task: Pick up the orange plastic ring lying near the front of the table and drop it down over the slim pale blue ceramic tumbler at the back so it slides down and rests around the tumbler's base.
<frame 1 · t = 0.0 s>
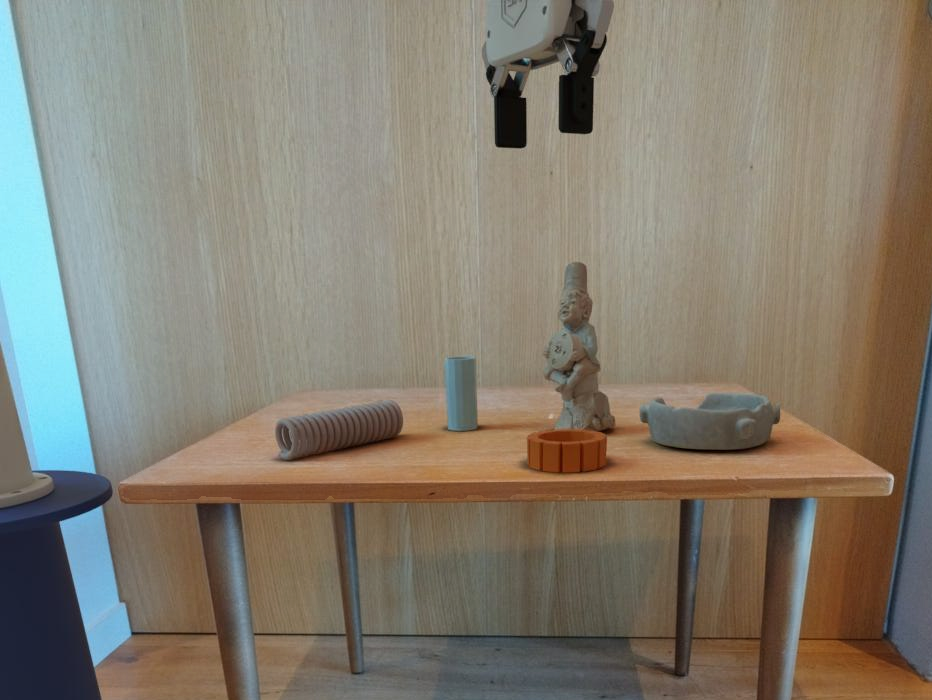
hand: (541, 140, 75), 30 cm above the table, tool pointing down, fingers open, 9 cm apart
figurine: (580, 432, 109), on the table
tumbler: (462, 428, 114), on the table
ring: (566, 463, 92), on the table
dish: (710, 444, 100), on the table
coil: (343, 449, 104), on the table
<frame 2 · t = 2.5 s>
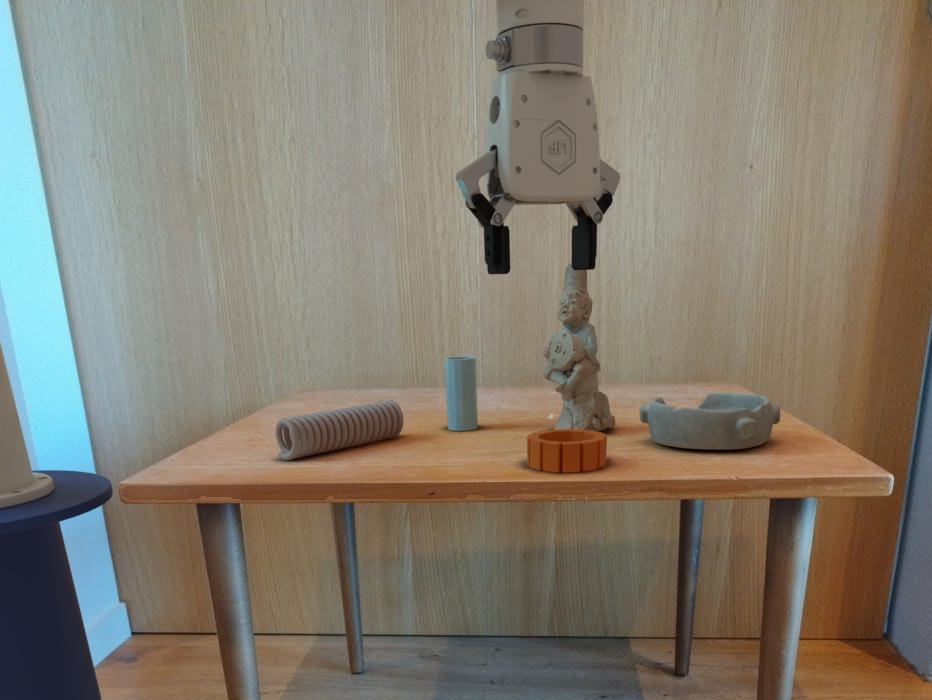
hand: (542, 271, 82), 19 cm above the table, tool pointing down, fingers open, 9 cm apart
nothing on the table moved.
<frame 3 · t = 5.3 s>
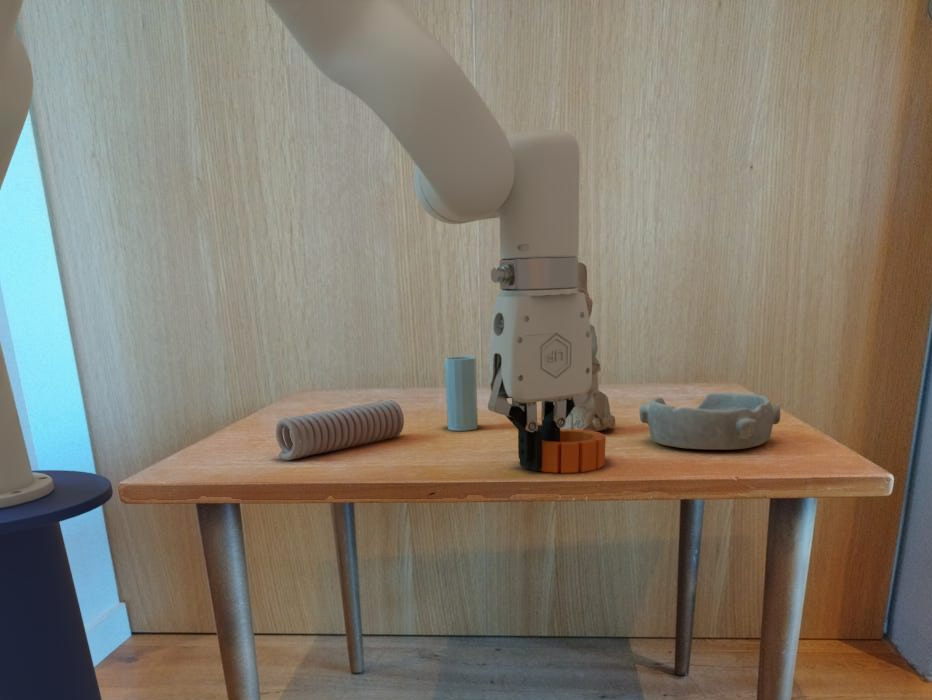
hand: (539, 465, 90), 0 cm above the table, tool pointing down, fingers closed on ring
ring: (564, 464, 92), on the table, touching gripper
everything else where it was.
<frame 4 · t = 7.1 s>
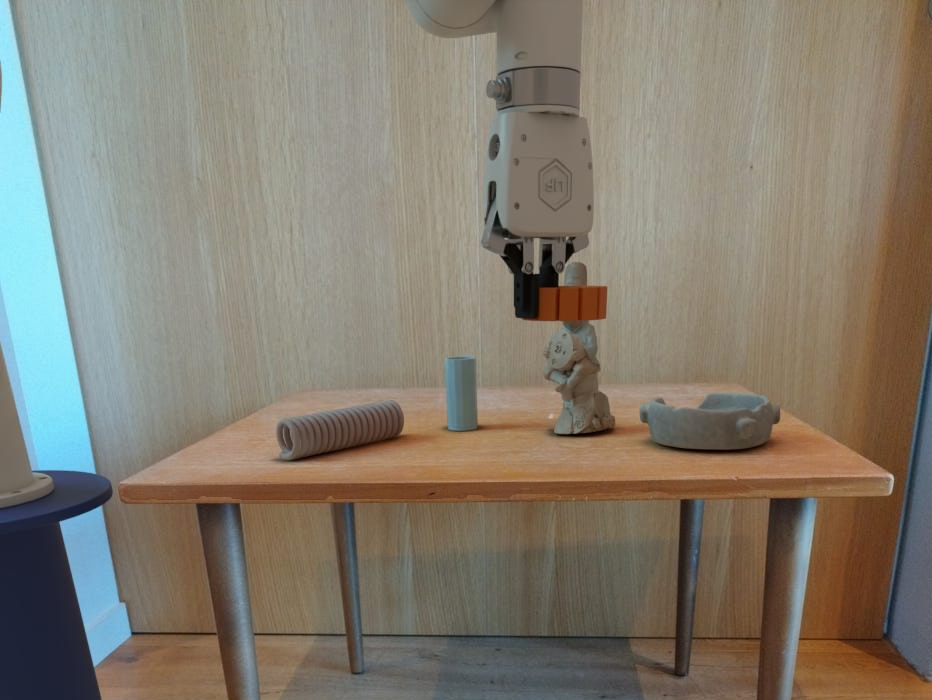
hand: (535, 316, 84), 15 cm above the table, tool pointing down, fingers closed on ring
ring: (563, 318, 86), point 15 cm above the table, touching gripper
everything else where it was.
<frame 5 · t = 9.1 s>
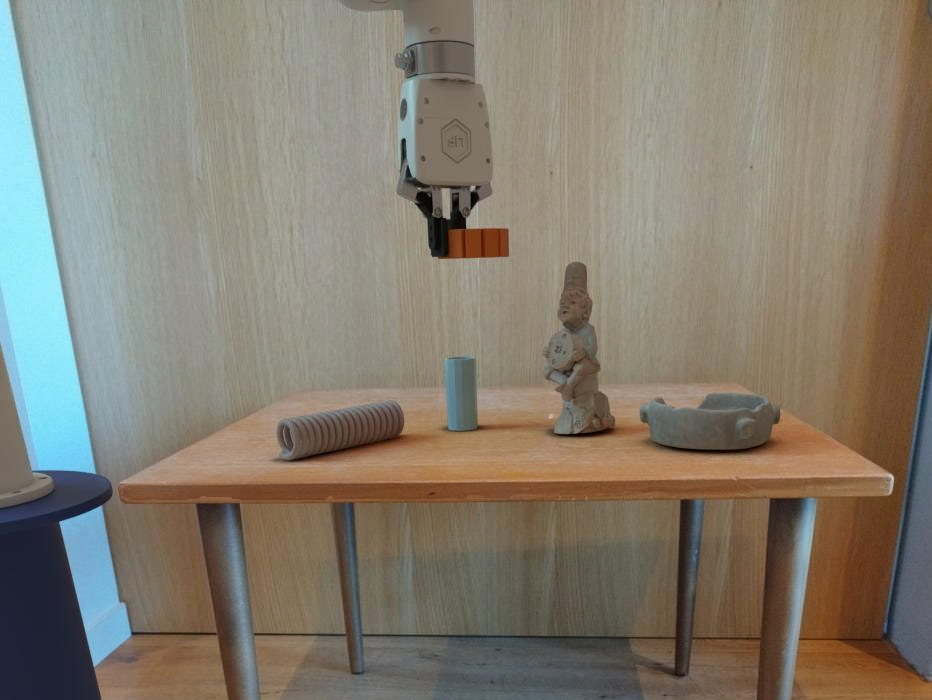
hand: (448, 255, 99), 21 cm above the table, tool pointing down, fingers closed on ring
ring: (473, 257, 101), point 21 cm above the table, touching gripper
everything else where it was.
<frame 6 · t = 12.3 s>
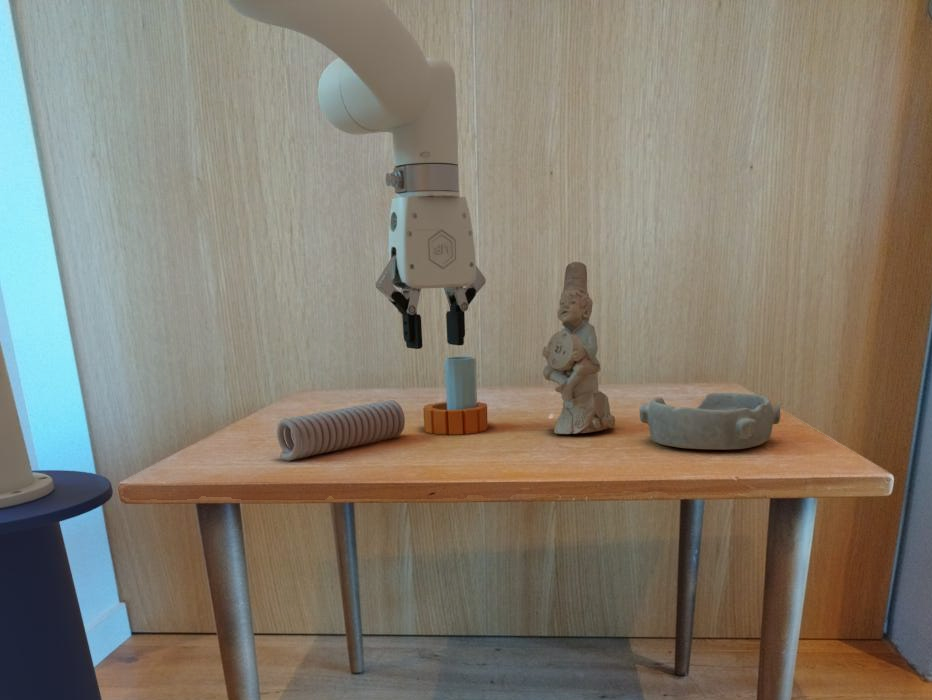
hand: (435, 344, 107), 11 cm above the table, tool pointing down, fingers open, 5 cm apart
ring: (456, 428, 113), on the table
everything else where it was.
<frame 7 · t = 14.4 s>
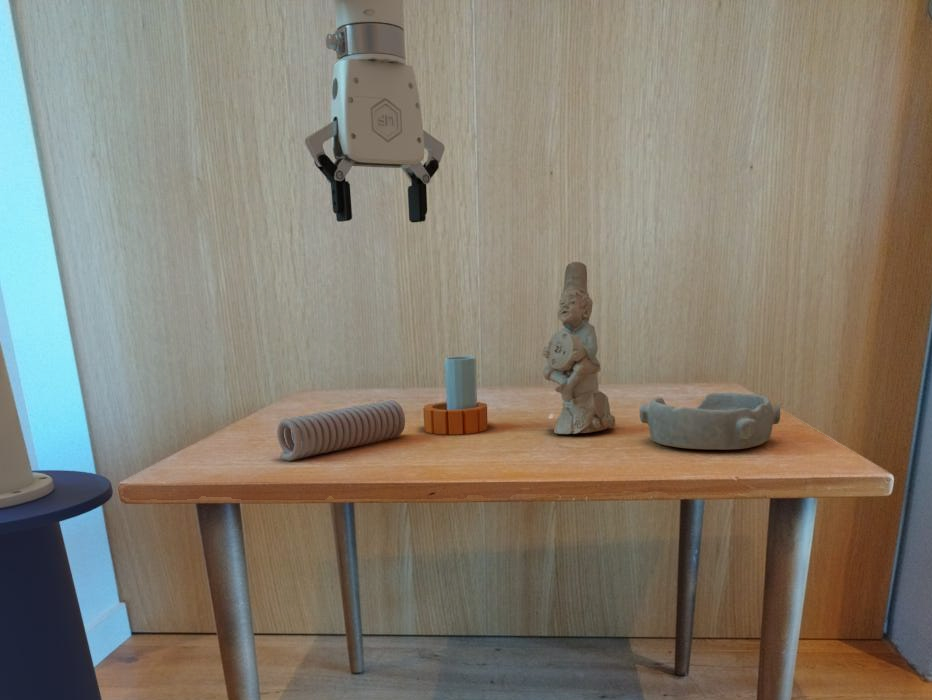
hand: (381, 221, 102), 25 cm above the table, tool pointing down, fingers open, 9 cm apart
nothing on the table moved.
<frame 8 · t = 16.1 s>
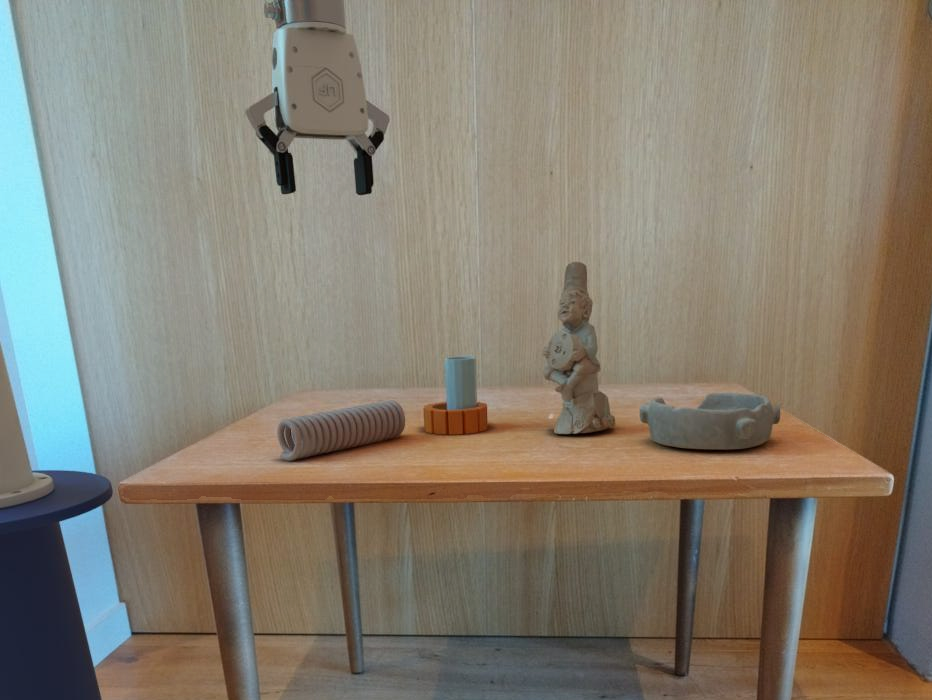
hand: (327, 193, 101), 28 cm above the table, tool pointing down, fingers open, 9 cm apart
nothing on the table moved.
at the end: ring 0.9 cm from the tumbler (horizontally); ring on the table; the gripper is holding nothing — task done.
